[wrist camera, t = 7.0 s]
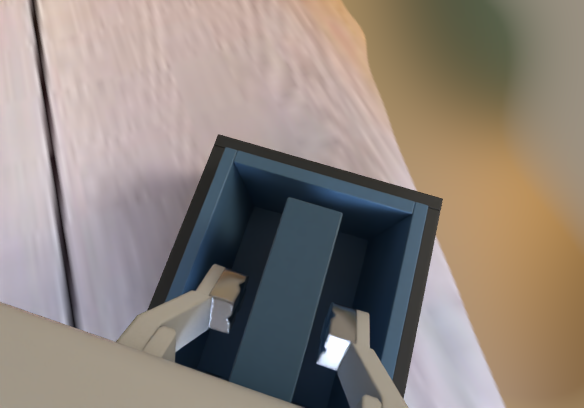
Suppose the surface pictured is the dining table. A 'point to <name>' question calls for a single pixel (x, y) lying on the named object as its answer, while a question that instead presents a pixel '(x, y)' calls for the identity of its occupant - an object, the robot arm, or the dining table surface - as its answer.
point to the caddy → (298, 273)
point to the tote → (431, 201)
